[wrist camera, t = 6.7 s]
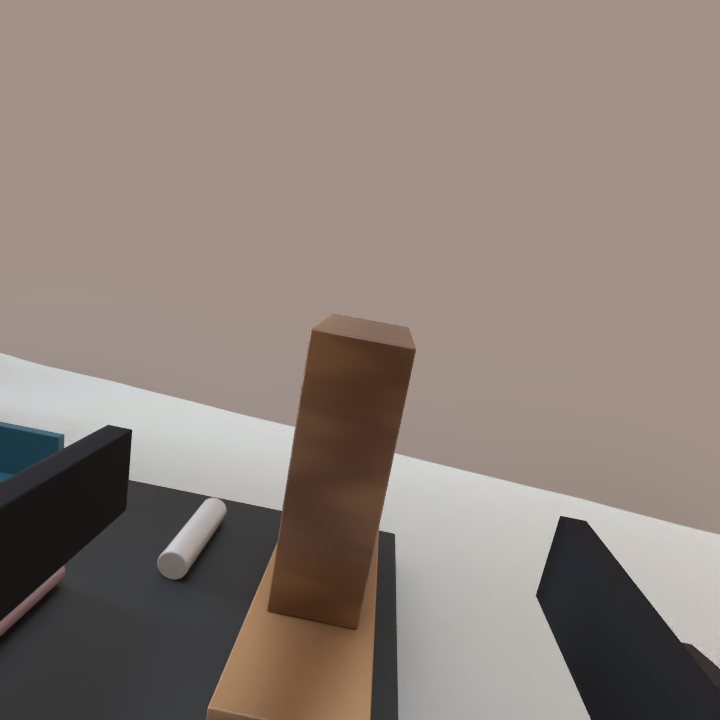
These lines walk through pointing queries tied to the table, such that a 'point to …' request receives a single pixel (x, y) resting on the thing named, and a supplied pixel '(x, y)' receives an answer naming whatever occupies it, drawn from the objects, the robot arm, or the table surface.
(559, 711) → the table surface
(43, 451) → the dustpan
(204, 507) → the chalk
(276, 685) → the wooden block on base
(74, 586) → the chalkboard
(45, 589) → the chalk
